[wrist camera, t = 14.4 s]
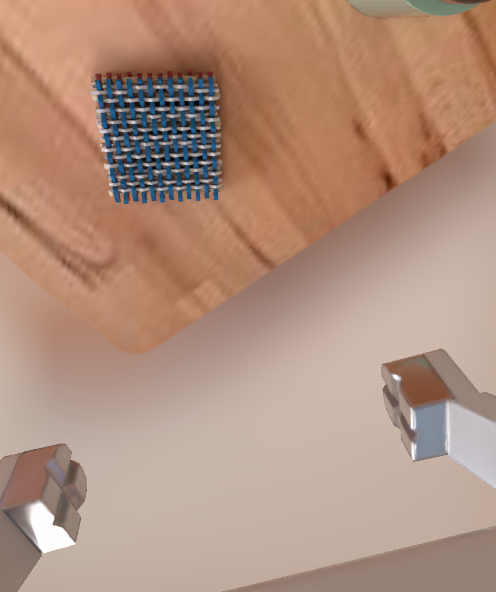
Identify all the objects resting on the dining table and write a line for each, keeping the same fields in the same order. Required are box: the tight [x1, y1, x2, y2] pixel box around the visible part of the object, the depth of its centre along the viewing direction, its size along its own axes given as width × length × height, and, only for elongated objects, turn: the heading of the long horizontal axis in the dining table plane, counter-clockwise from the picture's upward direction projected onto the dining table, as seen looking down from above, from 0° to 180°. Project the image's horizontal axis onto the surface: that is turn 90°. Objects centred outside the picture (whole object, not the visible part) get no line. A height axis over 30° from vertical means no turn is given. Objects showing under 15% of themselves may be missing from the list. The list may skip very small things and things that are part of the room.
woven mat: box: [90, 70, 224, 204], centre depth 38 cm, size 10×11×2 cm
